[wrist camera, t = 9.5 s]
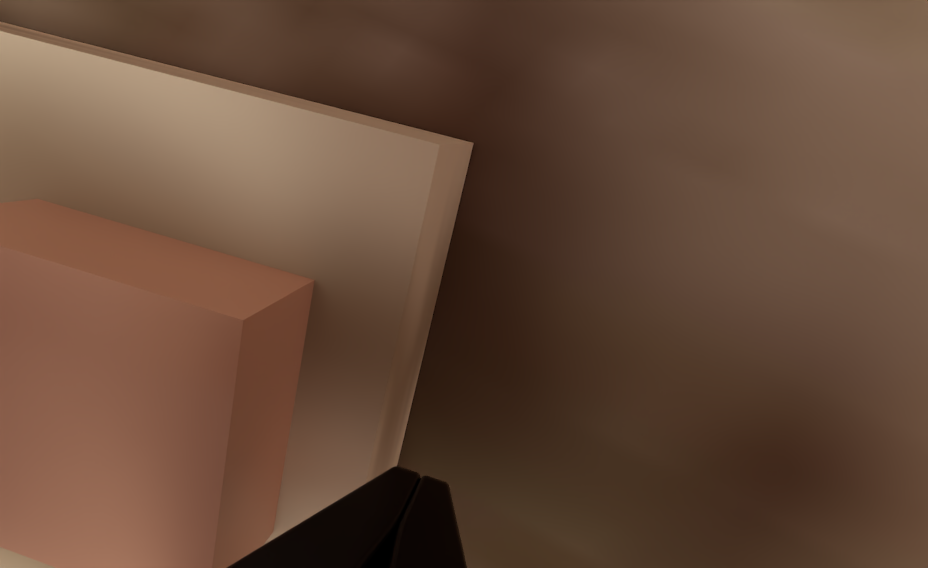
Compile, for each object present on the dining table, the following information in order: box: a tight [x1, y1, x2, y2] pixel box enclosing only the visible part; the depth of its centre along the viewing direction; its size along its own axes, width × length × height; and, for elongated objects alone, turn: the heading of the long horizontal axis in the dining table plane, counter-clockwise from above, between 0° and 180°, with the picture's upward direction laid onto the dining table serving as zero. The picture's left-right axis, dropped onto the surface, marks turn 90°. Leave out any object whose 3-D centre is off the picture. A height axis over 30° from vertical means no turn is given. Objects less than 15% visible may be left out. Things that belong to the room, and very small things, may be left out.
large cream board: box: [0, 22, 474, 568], centre depth 13 cm, size 20×12×3 cm, turn 166°
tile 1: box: [0, 199, 315, 568], centre depth 9 cm, size 5×5×2 cm
